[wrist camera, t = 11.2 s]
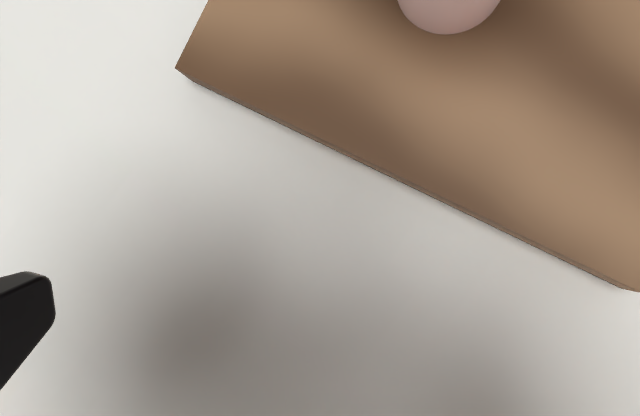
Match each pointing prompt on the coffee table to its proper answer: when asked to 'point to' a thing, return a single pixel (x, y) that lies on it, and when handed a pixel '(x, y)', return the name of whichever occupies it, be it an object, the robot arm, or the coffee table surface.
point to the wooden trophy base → (458, 107)
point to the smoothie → (447, 14)
